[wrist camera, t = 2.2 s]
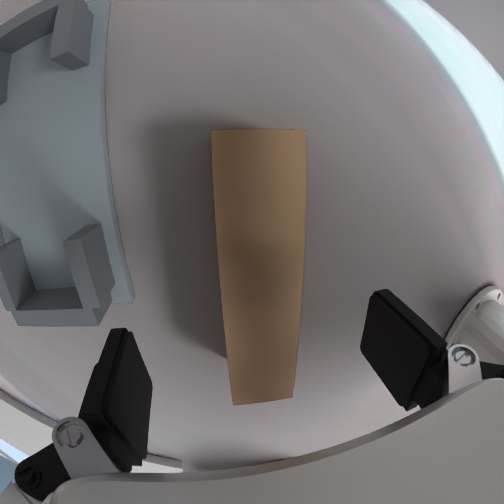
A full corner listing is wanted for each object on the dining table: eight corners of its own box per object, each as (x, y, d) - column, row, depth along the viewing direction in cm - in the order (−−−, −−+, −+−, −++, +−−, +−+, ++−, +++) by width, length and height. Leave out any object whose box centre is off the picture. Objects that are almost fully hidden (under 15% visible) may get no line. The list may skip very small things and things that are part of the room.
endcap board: (111, 0, 10) (93, -25, 6) (134, 296, 17) (120, 329, 14) (2, 51, 9) (-25, 42, 5) (30, 303, 16) (8, 328, 13)
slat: (278, 135, 15) (305, 129, 11) (276, 351, 21) (292, 397, 16) (211, 137, 15) (210, 130, 10) (227, 357, 21) (233, 405, 16)
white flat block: (-29, 351, 20) (-22, 399, 20) (-46, 363, 15) (-34, 413, 15) (180, 444, 29) (167, 480, 29) (183, 469, 24) (168, 502, 24)
